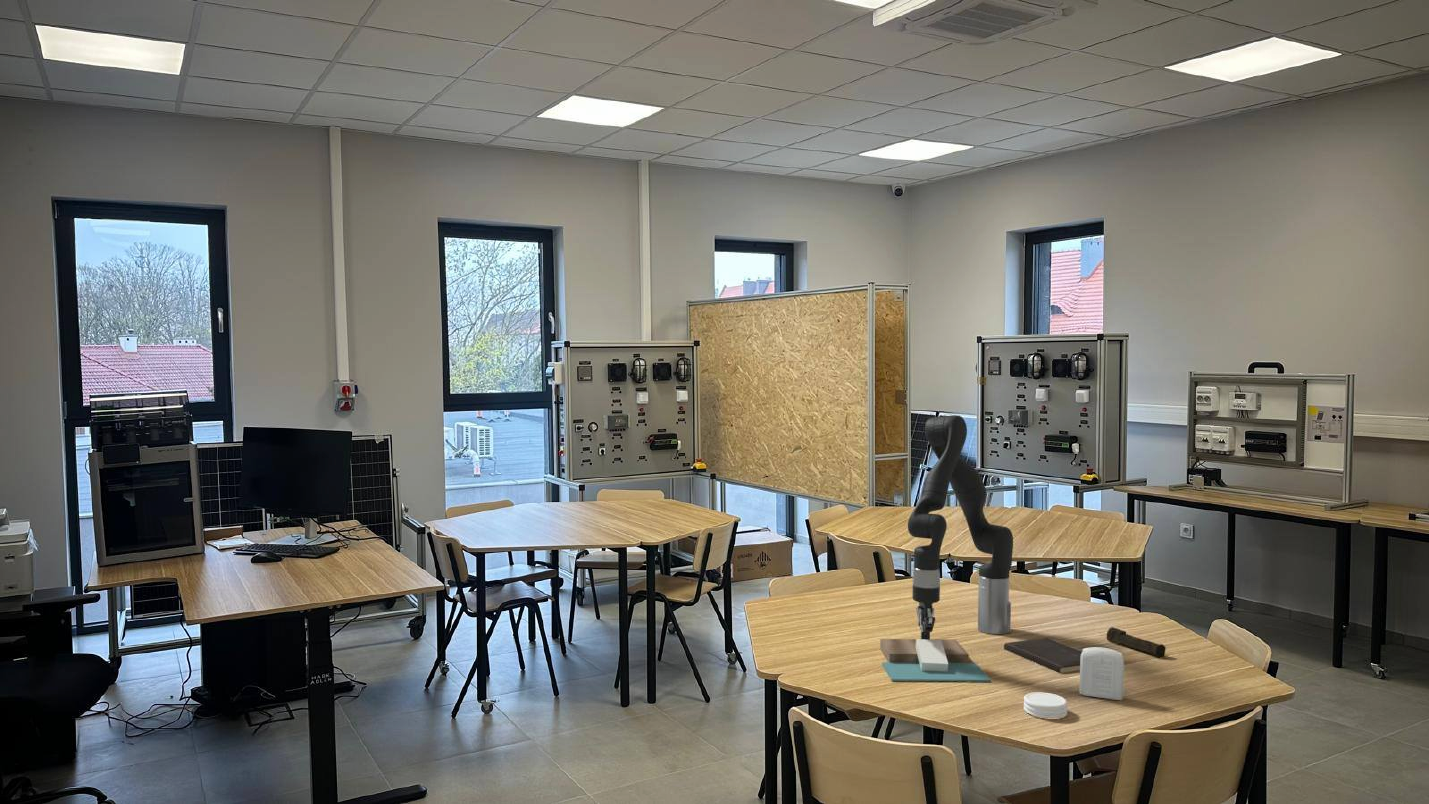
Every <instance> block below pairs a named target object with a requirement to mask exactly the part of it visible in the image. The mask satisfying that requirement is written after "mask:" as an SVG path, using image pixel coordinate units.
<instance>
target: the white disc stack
mask: <svg viewBox="0 0 1429 804" xmlns="http://www.w3.org/2000/svg"><path fill="white" fill-rule="evenodd" d="M1023 700H1024V701H1023V711H1024V710H1025V711H1026V712H1027V713H1029V714H1031V715H1034V716H1037V717H1042V718H1051V719H1052V718H1053V719H1054V718H1062V717H1065V716H1066V715H1067V716H1068V705H1069V704H1068V701H1067V699H1066V698H1064V697H1062V696H1061V695H1059V694H1054V693H1052V692H1051V693H1050V692H1040V691H1035V692H1034V691H1033V692H1029V693H1027V694H1026V695H1024V697H1023ZM1025 711H1024V712H1025ZM1026 712H1025V713H1026ZM1027 713H1026V714H1027ZM1029 714H1028V715H1029ZM1031 715H1030V716H1031ZM1067 716H1066V717H1067ZM1066 717H1065V718H1066Z"/></svg>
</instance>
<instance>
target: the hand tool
mask: <svg viewBox="0 0 1429 804" xmlns="http://www.w3.org/2000/svg"><path fill="white" fill-rule="evenodd" d="M1106 640H1107V641H1108V642H1110V643H1113V644H1115V645H1116V644H1117V646H1119V645H1124V647H1128V648H1131V649H1135V650H1138V651H1141V652H1143V653H1146V654H1148V655H1151V656H1155V659H1161V658H1164V656H1165V654H1166V646H1165V645H1164V644H1161V643H1156V642H1154V641H1150V640H1147V639H1143V638H1140V637H1136V636H1134V635H1130V634H1128V633H1127V631H1125V630H1122V629H1120V628H1116V627H1113V626H1112V627H1110V628H1109V629H1107V631H1106ZM1160 657H1161V658H1160Z"/></svg>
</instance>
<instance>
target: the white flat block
mask: <svg viewBox="0 0 1429 804" xmlns="http://www.w3.org/2000/svg"><path fill="white" fill-rule="evenodd" d="M915 639H916V651H917V655H918V659H919V663H920V668H921V671H945V672H947V671H948V661H947V658H946V654H945V651H944V647H943V644H942V640H925V639H921V638H915Z"/></svg>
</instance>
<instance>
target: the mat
mask: <svg viewBox="0 0 1429 804" xmlns="http://www.w3.org/2000/svg"><path fill="white" fill-rule="evenodd" d="M881 665H882V667H883V669H884V670H885V672H886V674H887V675H888V677H890V678H891V679H890V678H889V679H890V681H891V680H892V681H971V682H970V683H991V678H989V677H988V675H987V674H986V673H985V672H984V671H983V670H982V668H981V667H980V666H979V665H978V664H977V663H976V662H968V663H948V671H947V672H945V671H921V668H920V663H919V662H888V661H883V662H882V663H881ZM892 681H891V682H892Z"/></svg>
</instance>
